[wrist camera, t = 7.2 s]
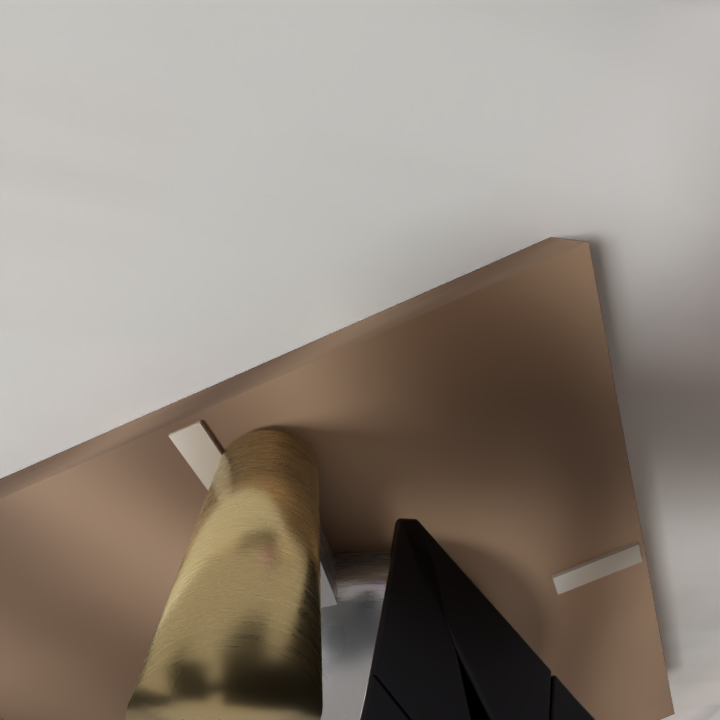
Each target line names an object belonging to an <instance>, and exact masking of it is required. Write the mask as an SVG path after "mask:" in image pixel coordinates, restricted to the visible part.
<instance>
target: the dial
mask: <svg viewBox="0 0 720 720" xmlns="http://www.w3.org/2000/svg"><path fill="white" fill-rule="evenodd" d="M389 567H390V552H385V551H352V552H344V553H337V554H332V553H331V551H330V548H329V545H328V543H327V540H326V538H325V535H324V532H323V530H322V527H321V524H320V516H319V468H318V462H317V459H316V457H315V454H314V453H313V451H312V450H311V448H310V447H309V446H308V445H307V444H306V443H305V442H304V441H302V440H301V439H299V438H298V437H296V436H294V435H292V434H290V433H287V432H283V431H279V430H258V431H254V432H250V433H247V434H245V435H243V436H241V437H239V438H237V439H236V440H234V441H233V442H232V443H231V444H230V445H229V446H228V447H227V448H226V450H225V451H224V453H223V454H222V456H221V459H220V461H219V464H218V467H217V469H216V472H215V475H214V477H213V480H212V483H211V485H210V488H209V490H208V493H207V496H206V498H205V501H204V504H203V506H202V509H201V512H200V514H199V517H198V520H197V522H196V525H195V528H194V530H193V533H192V536H191V538H190V541H189V544H188V546H187V549H186V552H185V554H184V557H183V560H182V562H181V565H180V567H179V570H178V573H177V575H176V578H175V581H174V583H173V586H172V589H171V591H170V594H169V597H168V599H167V602H166V605H165V607H164V610H163V613H162V615H161V618H160V621H159V623H158V626H157V629H156V631H155V634H154V637H153V639H152V642H151V644H150V647H149V650H148V652H147V655H146V658H145V660H144V663H143V666H142V668H141V671H140V674H139V676H138V679H137V682H136V684H135V687H134V690H133V692H132V695H131V698H130V700H129V703H128V706H127V710H126V720H360V717H361V713H362V708H363V704H364V698H365V693H366V688H367V683H368V678H369V673H370V668H371V663H372V657H373V652H374V647H375V642H376V636H377V631H378V626H379V620H380V615H381V610H382V604H383V599H384V594H385V588H386V583H387V578H388V573H389ZM472 582H473V581H472ZM473 583H474V582H473ZM474 584H475V583H474ZM475 585H476V584H475ZM476 586H477V585H476ZM477 587H478V586H477ZM478 588H479V587H478ZM479 590H480V591H481V592H482V593H483V594H484V595H485V596H486V597H487V595H486V594H485V593H484V591H483V590H482V589H480V588H479ZM487 599H488V600H489V601H490V599H489V598H488V597H487ZM490 602H491V601H490ZM491 603H492V602H491ZM492 604H493V603H492Z"/></svg>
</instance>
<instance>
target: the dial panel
mask: <svg viewBox="0 0 720 720" xmlns="http://www.w3.org/2000/svg"><path fill="white" fill-rule="evenodd" d="M258 430H279V431H283V432H287V433H290V434H292V435H294V436H296V437H298V438H299V439H301V440H302V441H304V442H305V443H306V444H307V445H308V446H309V447H310V448H311V450H312V451H313V453H314V454H315V457H316V459H317V462H318V468H319V516H320V524H321V527H322V530H323V532H324V535H325V538H326V540H327V543H328V545H329V548H330V551H331V553H332V554H337V553H344V552H352V551H385V552H391V545H392V539H393V534H394V528H395V523H396V521H397V520H398V519H399V518H408V519H417V520H418V521H419V522H420V523H421V524H422V525H423V526H424V527H425V529H426V530H427V531H428V532H429V533H430V534H431V535H432V536H433V538H434V539H435V540H436V541H437V542H438V543H439V544H440V546H441V547H442V548H443V549H444V550H445V551H446V552H447V553H448V555H449V556H450V557H451V558H452V559H453V560H454V561H455V562H456V564H457V565H458V566H459V567H460V568H461V569H462V570H463V571H464V573H465V574H466V575H467V576H468V577H469V578H470V579H471V580H472V581H473V582H474V583H475V584H476V585H477V586H478V587H479V588H480V589H482V590H483V591H484V593H485V594H486V595H487V597H488V598H489V599H490V601H491V602H492V603H493V605H494V606H495V608H496V609H497V610H498V611H499V612H500V613H501V614H502V615H503V617H504V618H505V619H506V620H507V621H508V622H509V623H510V625H511V626H512V627H513V628H514V629H515V630H516V631H517V632H518V634H519V635H520V636H521V637H522V638H523V639H524V640H525V641H526V643H527V644H528V645H529V646H530V647H531V648H532V649H533V650H534V652H535V653H536V654H537V655H538V656H539V657H540V658H541V659H542V661H543V662H544V663H545V664H546V665H547V666H548V667H549V669H550V670H551V672H552V676H553V675H555V676H557V677H558V678H559V680H560V681H561V682H562V683H563V684H564V685H565V686H566V687H567V689H568V690H569V691H570V692H571V693H572V694H573V695H574V696H575V698H576V699H577V700H578V701H579V702H580V703H581V704H582V705H583V706H584V707H585V708H586V710H587V711H588V712H589V713H590V714H591V715H592V716H593V717H594V718H595V719H596V720H660V719H663V718H665V717H668V716H671V715H673V714H674V709H673V704H672V698H671V693H670V687H669V682H668V676H667V671H666V665H665V660H664V654H663V649H662V643H661V638H660V632H659V627H658V621H657V616H656V610H655V605H654V599H653V594H652V588H651V583H650V577H649V572H648V566H647V561H646V555H645V550H644V544H643V539H642V533H641V528H640V523H639V517H638V512H637V506H636V501H635V495H634V490H633V484H632V479H631V473H630V468H629V462H628V457H627V451H626V446H625V440H624V435H623V429H622V424H621V418H620V413H619V407H618V402H617V396H616V391H615V385H614V380H613V374H612V369H611V363H610V358H609V352H608V347H607V341H606V336H605V330H604V325H603V319H602V314H601V308H600V303H599V297H598V292H597V286H596V281H595V275H594V270H593V264H592V259H591V253H590V248H589V242H586V241H577V240H568V239H560V238H551V237H550V238H548V239H546V240H543V241H541V242H539V243H537V244H534V245H532V246H530V247H527V248H525V249H523V250H521V251H518V252H516V253H514V254H512V255H509V256H507V257H505V258H502V259H500V260H498V261H496V262H493V263H491V264H489V265H486V266H484V267H482V268H480V269H477V270H475V271H473V272H471V273H468V274H466V275H464V276H461V277H459V278H457V279H455V280H452V281H450V282H448V283H446V284H443V285H441V286H439V287H436V288H434V289H432V290H430V291H427V292H425V293H423V294H420V295H418V296H416V297H414V298H411V299H409V300H407V301H405V302H402V303H400V304H398V305H395V306H393V307H391V308H389V309H386V310H384V311H382V312H380V313H377V314H375V315H373V316H370V317H368V318H366V319H364V320H361V321H359V322H357V323H355V324H352V325H350V326H348V327H345V328H343V329H341V330H339V331H336V332H334V333H332V334H329V335H327V336H325V337H323V338H320V339H318V340H316V341H314V342H311V343H309V344H307V345H304V346H302V347H300V348H298V349H295V350H293V351H291V352H289V353H286V354H284V355H282V356H279V357H277V358H275V359H273V360H270V361H268V362H266V363H263V364H261V365H259V366H257V367H254V368H252V369H250V370H248V371H245V372H243V373H241V374H238V375H236V376H234V377H232V378H229V379H227V380H225V381H223V382H220V383H218V384H216V385H213V386H211V387H209V388H207V389H204V390H202V391H200V392H198V393H195V394H193V395H191V396H188V397H186V398H184V399H182V400H179V401H177V402H175V403H172V404H170V405H168V406H166V407H163V408H161V409H159V410H157V411H154V412H152V413H150V414H147V415H145V416H143V417H141V418H138V419H136V420H134V421H132V422H129V423H127V424H125V425H122V426H120V427H118V428H116V429H113V430H111V431H109V432H106V433H104V434H102V435H100V436H97V437H95V438H93V439H91V440H88V441H86V442H84V443H81V444H79V445H77V446H75V447H72V448H70V449H68V450H66V451H63V452H61V453H59V454H56V455H54V456H52V457H50V458H47V459H45V460H43V461H40V462H38V463H36V464H34V465H31V466H29V467H27V468H25V469H22V470H20V471H18V472H15V473H13V474H11V475H9V476H6V477H4V478H2V479H0V718H1V719H3V720H126V710H127V706H128V703H129V700H130V698H131V695H132V692H133V690H134V687H135V684H136V682H137V679H138V676H139V674H140V671H141V668H142V666H143V663H144V660H145V658H146V655H147V652H148V650H149V647H150V644H151V642H152V639H153V637H154V634H155V631H156V629H157V626H158V623H159V621H160V618H161V615H162V613H163V610H164V607H165V605H166V602H167V599H168V597H169V594H170V591H171V589H172V586H173V583H174V581H175V578H176V575H177V573H178V570H179V567H180V565H181V562H182V560H183V557H184V554H185V552H186V549H187V546H188V544H189V541H190V538H191V536H192V533H193V530H194V528H195V525H196V522H197V520H198V517H199V514H200V512H201V509H202V506H203V504H204V501H205V498H206V496H207V493H208V490H209V488H210V485H211V483H212V480H213V477H214V475H215V472H216V469H217V467H218V464H219V461H220V459H221V456H222V454H223V453H224V451H225V450H226V448H227V447H228V446H229V445H230V444H231V443H232V442H233V441H234V440H236V439H237V438H239V437H241V436H243V435H245V434H247V433H250V432H254V431H258Z"/></svg>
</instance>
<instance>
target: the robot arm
mask: <svg viewBox="0 0 720 720" xmlns="http://www.w3.org/2000/svg"><path fill="white" fill-rule="evenodd" d="M360 720H596V719H595V718H594V717H593V716H592V715H591V714H590V713H589V712H588V711H587V710H586V708H585V707H584V706H583V705H582V704H581V703H580V702H579V701H578V700H577V699H576V698H575V696H574V695H573V694H572V693H571V692H570V691H569V690H568V689H567V687H566V686H565V685H564V684H563V683H562V682H561V681H560V680H559V678H558V677H557V676H555V675H553V676H552V672H551V670H550V669H549V667H548V666H547V665H546V664H545V663H544V662H543V661H542V659H541V658H540V657H539V656H538V655H537V654H536V653H535V652H534V650H533V649H532V648H531V647H530V646H529V645H528V644H527V643H526V641H525V640H524V639H523V638H522V637H521V636H520V635H519V634H518V632H517V631H516V630H515V629H514V628H513V627H512V626H511V625H510V623H509V622H508V621H507V620H506V619H505V618H504V617H503V615H502V614H501V613H500V612H499V611H498V610H497V609H496V608H495V606H494V605H493V604H492V603H491V602H490V601H489V600H488V599H487V597H486V596H485V595H484V594H483V593H482V592H481V591H480V590H479V588H478V587H477V586H476V585H475V584H474V583H473V582H472V580H471V579H470V578H469V577H468V576H467V575H466V574H465V573H464V571H463V570H462V569H461V568H460V567H459V566H458V565H457V564H456V562H455V561H454V560H453V559H452V558H451V557H450V556H449V555H448V553H447V552H446V551H445V550H444V549H443V548H442V547H441V546H440V544H439V543H438V542H437V541H436V540H435V539H434V538H433V536H432V535H431V534H430V533H429V532H428V531H427V530H426V529H425V527H424V526H423V525H422V524H421V523H420V522H419V521H418V520H417V519H408V518H399V519H398V520H397V521H396V523H395V528H394V534H393V539H392V545H391V552H390V567H389V573H388V578H387V583H386V588H385V594H384V599H383V604H382V610H381V615H380V620H379V626H378V631H377V636H376V642H375V647H374V652H373V657H372V663H371V668H370V673H369V678H368V683H367V688H366V693H365V698H364V704H363V708H362V713H361V717H360Z"/></svg>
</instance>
